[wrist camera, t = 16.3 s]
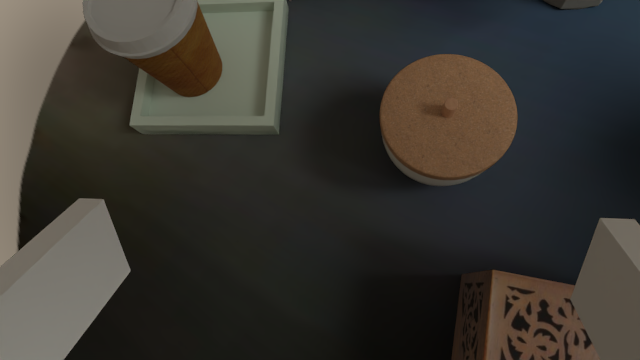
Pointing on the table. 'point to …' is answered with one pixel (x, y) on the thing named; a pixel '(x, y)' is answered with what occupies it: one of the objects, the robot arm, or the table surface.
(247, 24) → the tray
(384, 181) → the table surface
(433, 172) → the lidded jar
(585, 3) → the coffeepot
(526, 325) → the tissue box cover
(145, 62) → the disposable coffee cup
